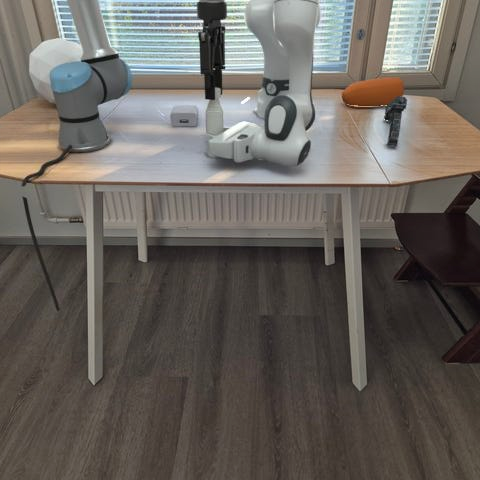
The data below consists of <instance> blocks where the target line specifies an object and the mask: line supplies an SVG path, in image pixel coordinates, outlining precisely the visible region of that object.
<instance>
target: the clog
mask: <svg viewBox="0 0 480 480" xmlns="http://www.w3.org/2000/svg"><path fill="white" fill-rule="evenodd" d="M404 86H405V85H404V81H403V79H402V78H400V77H391V76H390V77H389V76H388V77H378V78H372V79H366V80H359V81H355V82H353V83H351V84H350V85H348V86H347V87H346V88H345V89H344V90H342V92H341V99H342V101H343V102H344V101H345V102H344V103H345V105H347V104H349V105H358V106H381V105H388V104H389V103H390V102H391V101H392V100H393V99H394V98H396V97H397V96H403V97H404V91H405V87H404ZM349 105H348V106H349ZM350 107H351V108H355V109H371V108H373V107H354V106H350Z"/></svg>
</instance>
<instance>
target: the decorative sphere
mask: <svg viewBox="0 0 480 480" xmlns="http://www.w3.org/2000/svg"><path fill="white" fill-rule="evenodd" d="M82 55H83V49H82V46H81V44H80V43H78V42H76V41H71V40H68V39H64V38H60V37H57V38H52V39H47V40H44V41H42V42H41V43H40V44H39V45H38V46H37V47H36V48H35V49H34V50H32V51H31V52H30V54H29V62H28V75H29V78H30V80H31V81H32V85H33V87H34V89H35V91H37V93H39V95H41V96H42V97H43V98H44V99H46V100H47V101H48V102H49V103H50V104H55V105H56V103H55V98H54V95H53V91H52V89H51V81H50V72H51V70H52V69H53V68H54V67H56V66H58V65H61V64H64V63H70V62H78V61H80V62H81V57H82Z"/></svg>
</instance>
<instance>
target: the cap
mask: <svg viewBox="0 0 480 480" xmlns="http://www.w3.org/2000/svg"><path fill="white" fill-rule="evenodd" d="M221 97H222V95H221V89H220V88H216V87H215V98H219V99H220V98H221Z"/></svg>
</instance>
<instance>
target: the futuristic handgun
mask: <svg viewBox="0 0 480 480" xmlns="http://www.w3.org/2000/svg"><path fill="white" fill-rule="evenodd" d="M407 105H408V99H407V97H406V96H404V95H403V96H397V97H396V98H394V99H393V100H392V101H391V102H390V103H389V104H388V105H387V106H385V110H384V115H383V121H385V122H389V124H390V125H389V132H388V137H387V141H386V142H387V143H386V146H395V147H396V146H398V142H399V137H400V129H401V124H402V116H403V112H404V110H406V109H407ZM384 119H385V120H384ZM386 120H388V121H386Z"/></svg>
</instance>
